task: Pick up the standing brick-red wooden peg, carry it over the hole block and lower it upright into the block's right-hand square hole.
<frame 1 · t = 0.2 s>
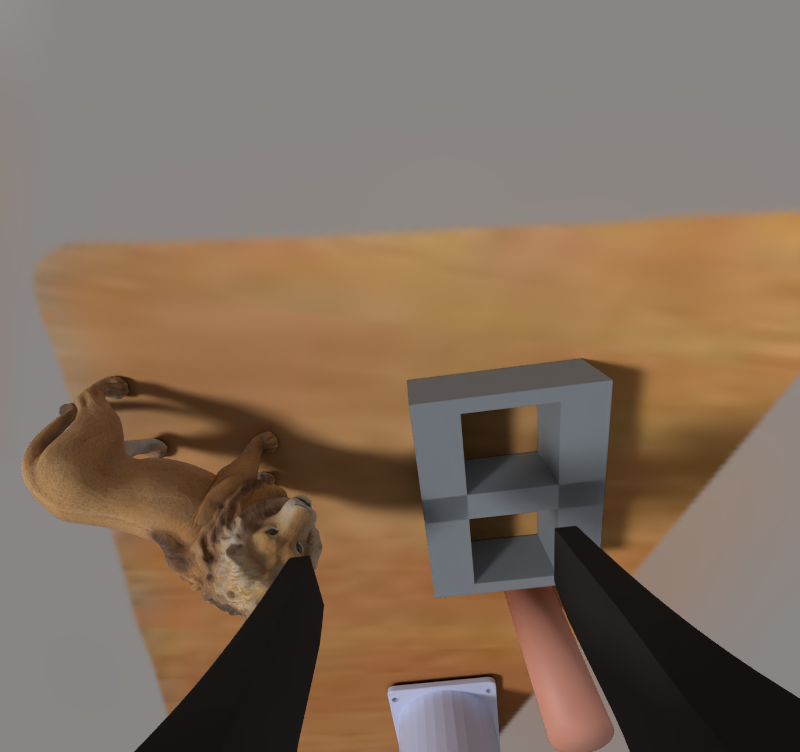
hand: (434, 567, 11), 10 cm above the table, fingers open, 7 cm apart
hole block: (498, 467, 22), on the table
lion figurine: (221, 434, 21), on the table
peg: (526, 585, 25), on the table
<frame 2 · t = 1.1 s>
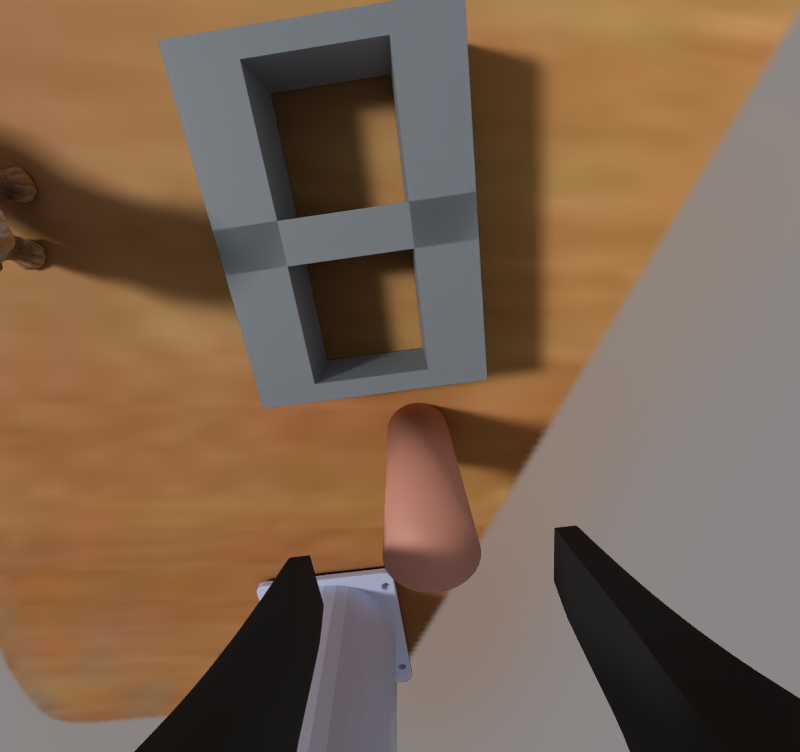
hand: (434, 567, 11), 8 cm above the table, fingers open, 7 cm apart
hole block: (355, 234, 16), on the table
peg: (417, 430, 19), on the table
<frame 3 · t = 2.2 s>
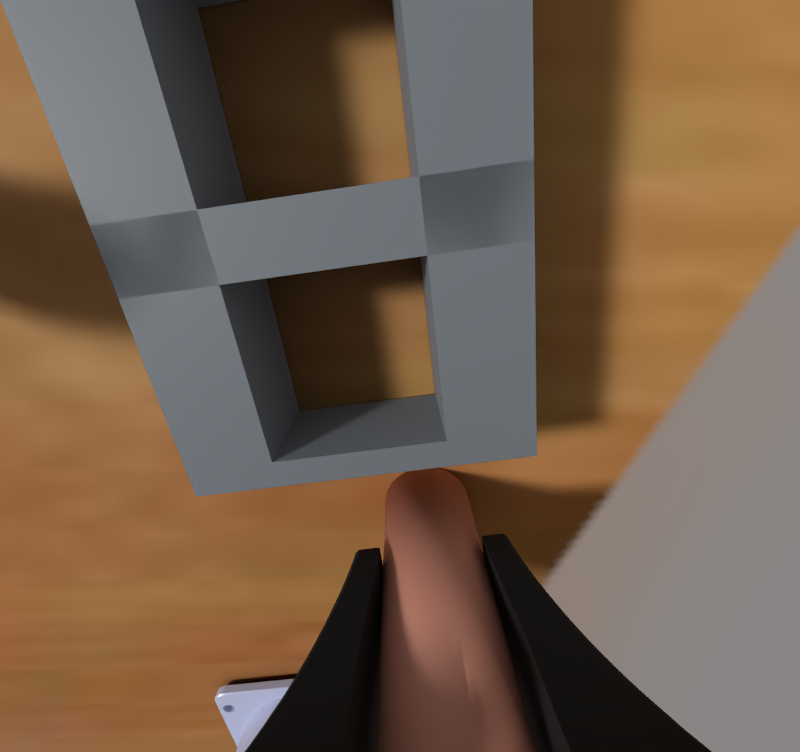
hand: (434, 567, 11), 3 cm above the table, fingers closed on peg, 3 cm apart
hole block: (336, 232, 11), on the table
peg: (426, 501, 14), on the table, touching gripper
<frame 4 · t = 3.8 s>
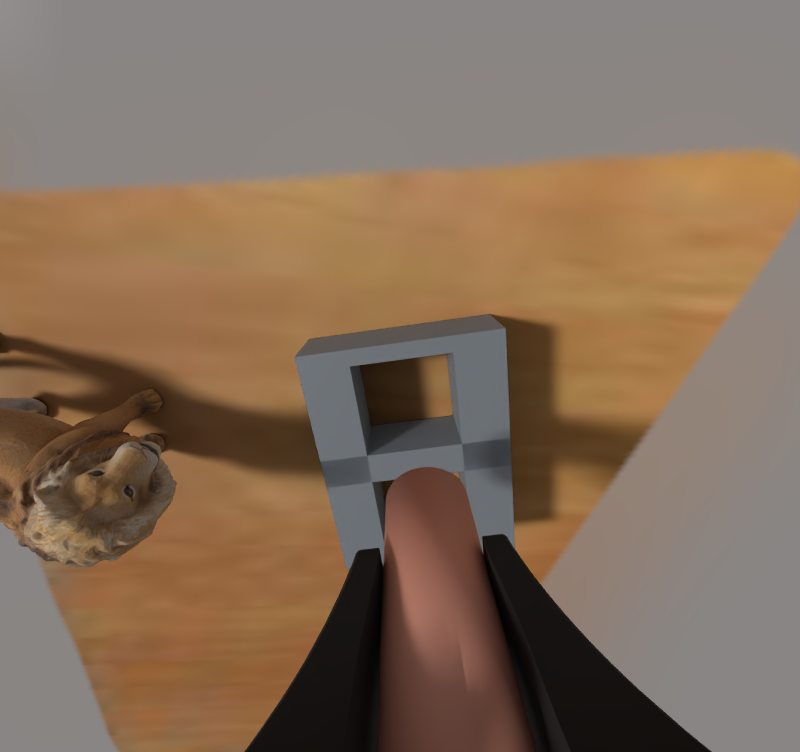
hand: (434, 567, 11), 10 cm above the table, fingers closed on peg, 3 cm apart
hole block: (413, 432, 21), on the table
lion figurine: (104, 393, 20), on the table
peg: (426, 501, 14), point 7 cm above the table, touching gripper
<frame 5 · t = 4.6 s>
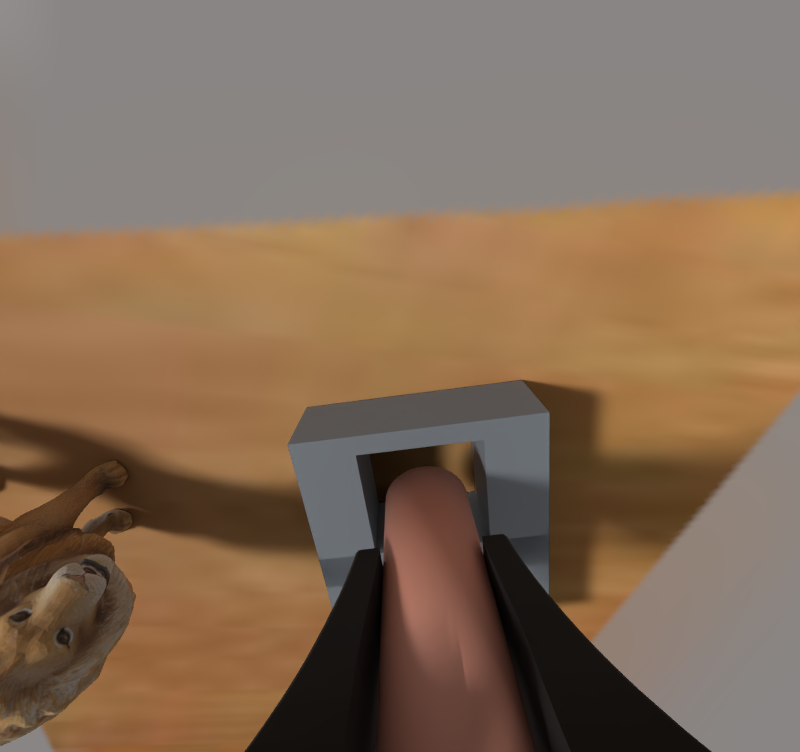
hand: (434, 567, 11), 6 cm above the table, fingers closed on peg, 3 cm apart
hole block: (428, 510, 18), on the table
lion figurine: (59, 464, 17), on the table
peg: (426, 501, 14), point 3 cm above the table, touching gripper
when the fingers open (4 cm above the table, at t = 5.3 s): peg drops 1 cm, resting in hole block.
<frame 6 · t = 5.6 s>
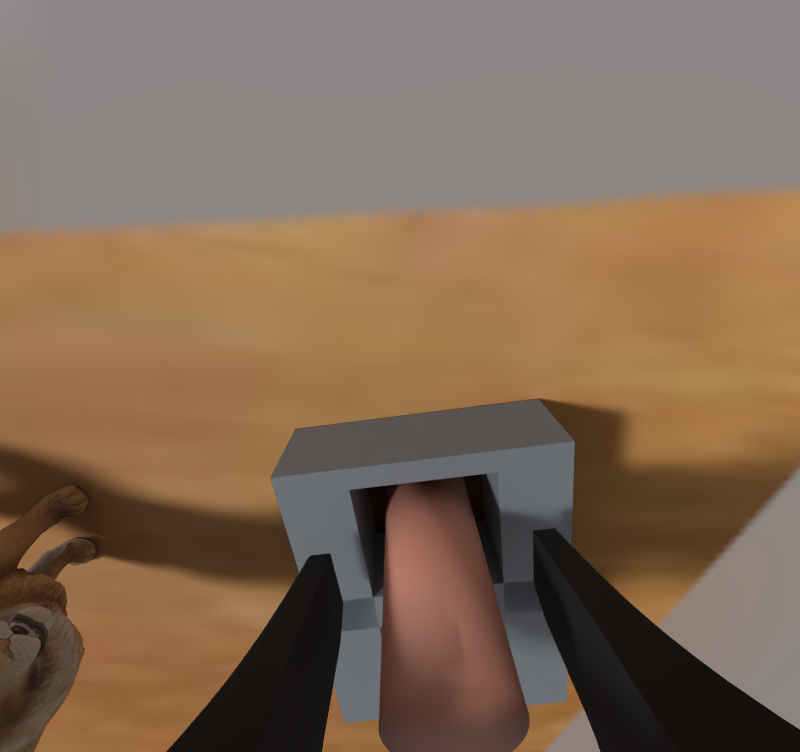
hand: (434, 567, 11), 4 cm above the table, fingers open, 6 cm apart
hole block: (432, 540, 16), on the table
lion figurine: (12, 489, 15), on the table
peg: (424, 481, 15), resting in hole block
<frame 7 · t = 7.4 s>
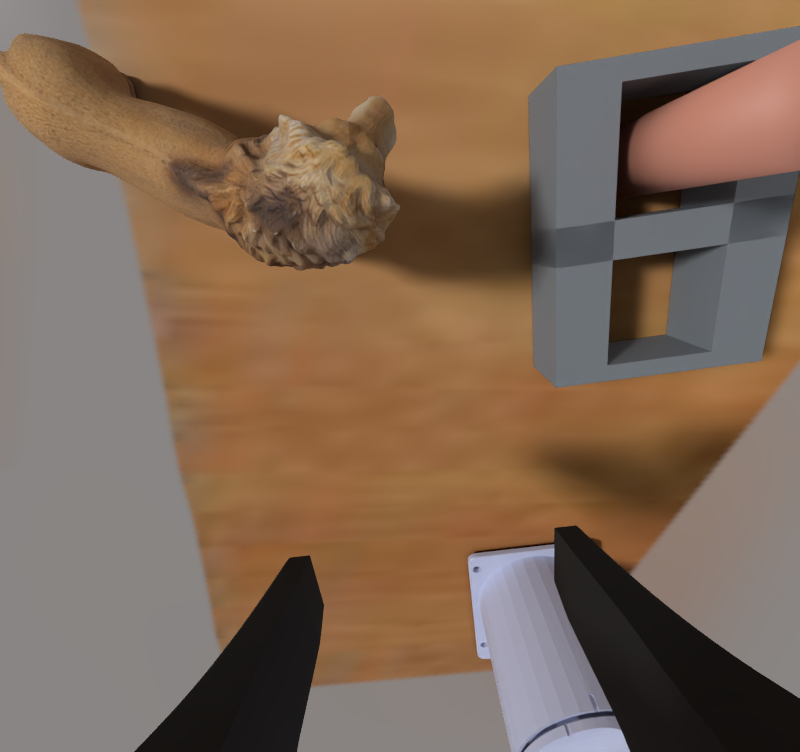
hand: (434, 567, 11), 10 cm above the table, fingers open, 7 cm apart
hole block: (628, 232, 18), on the table
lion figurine: (251, 170, 17), on the table
peg: (633, 159, 17), resting in hole block
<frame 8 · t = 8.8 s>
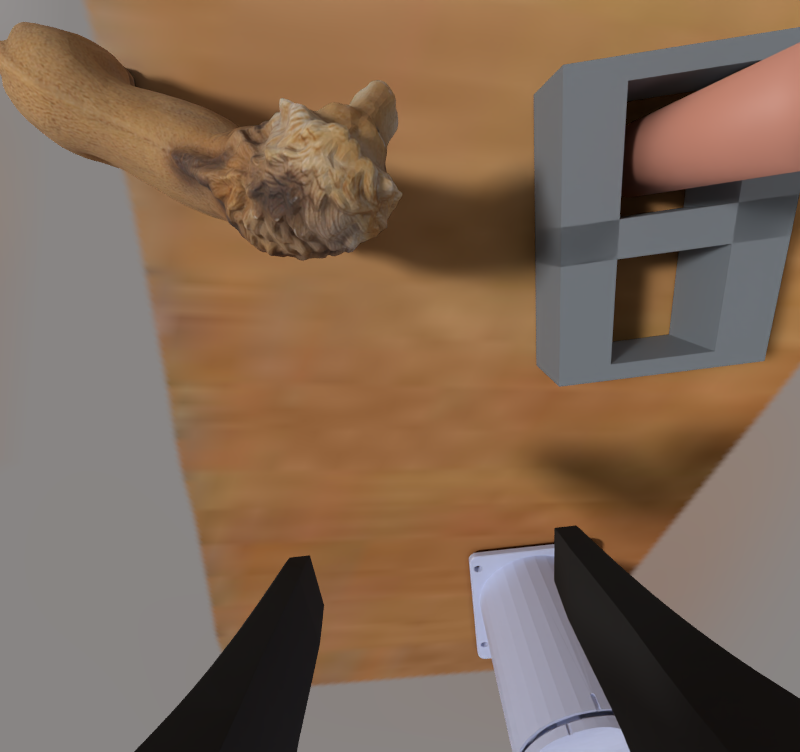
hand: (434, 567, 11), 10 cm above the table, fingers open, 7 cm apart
hole block: (632, 231, 18), on the table
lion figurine: (252, 163, 17), on the table
peg: (637, 159, 17), resting in hole block
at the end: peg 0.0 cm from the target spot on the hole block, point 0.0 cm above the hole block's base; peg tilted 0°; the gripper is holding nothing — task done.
